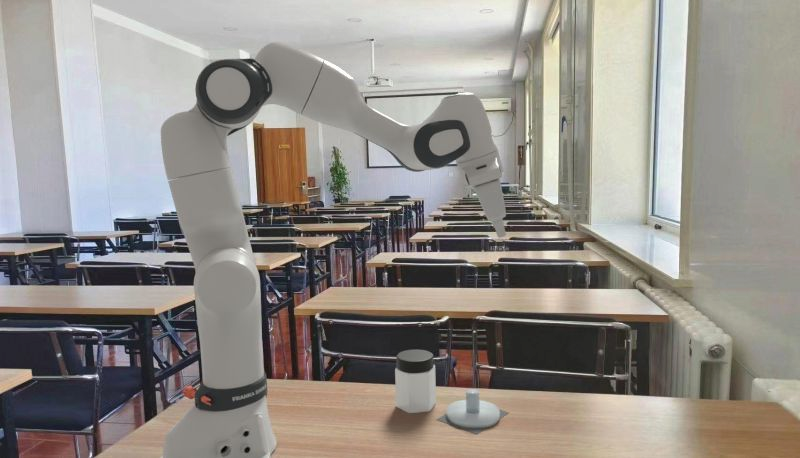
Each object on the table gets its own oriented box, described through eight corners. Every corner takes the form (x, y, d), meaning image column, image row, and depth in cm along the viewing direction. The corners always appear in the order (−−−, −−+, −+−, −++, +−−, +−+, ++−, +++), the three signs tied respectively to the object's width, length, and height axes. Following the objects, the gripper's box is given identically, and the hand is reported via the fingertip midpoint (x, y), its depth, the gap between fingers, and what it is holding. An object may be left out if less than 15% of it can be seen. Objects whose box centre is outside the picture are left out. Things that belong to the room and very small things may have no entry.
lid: (480, 434, 103) (480, 408, 102) (435, 417, 110) (435, 393, 109) (509, 414, 111) (509, 390, 110) (466, 400, 118) (466, 377, 118)
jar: (443, 408, 116) (442, 355, 115) (415, 420, 111) (414, 365, 110) (417, 396, 123) (415, 346, 122) (389, 406, 118) (387, 354, 117)
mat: (476, 438, 103) (476, 434, 103) (436, 423, 109) (436, 419, 109) (508, 416, 112) (508, 412, 111) (469, 403, 118) (469, 400, 118)
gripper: (464, 168, 121) (482, 224, 123) (468, 180, 101) (489, 247, 103) (491, 159, 120) (508, 216, 122) (500, 170, 100) (520, 237, 102)
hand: (499, 231), depth 113 cm, fingers open, 8 cm apart
